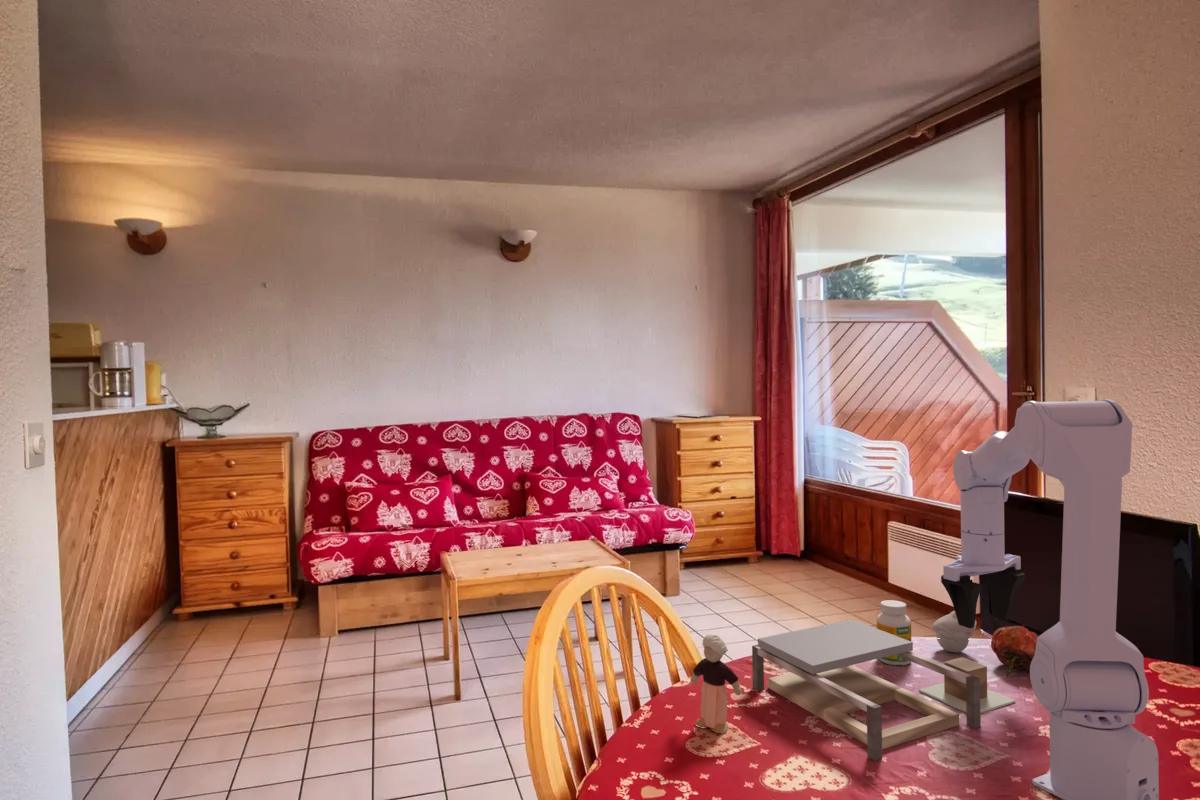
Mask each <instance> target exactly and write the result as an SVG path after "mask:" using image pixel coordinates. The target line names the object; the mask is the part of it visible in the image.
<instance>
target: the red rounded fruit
mask: <svg viewBox="0 0 1200 800" xmlns="http://www.w3.org/2000/svg"><path fill="white" fill-rule="evenodd" d="M1026 627H1027V626H1026V624H1022V625H1013V626H1010V625H1007V626H1003V627H999V628H997V629H996V630H995V631H994V632H993V634H992V637H991V643H990V648H991V649H992V652H993V653H994V654H995V655H996V657H997V660H998V661H999V662H1000V663H1001V664H1003V665H1004V666H1006V667H1009V668H1008V670H1007V673H1006V676H1007V677H1009V675H1010V674H1011V671H1012V670H1013V669H1014V668H1013V667H1016V669H1020V670H1024V671H1028V672H1030V665H1031V662H1032V660H1033V658H1034V655H1035V650H1036V644H1037V638H1038V637H1039V635H1037V634H1036V633H1035V632H1033V631H1029V629H1028V628H1026Z"/></svg>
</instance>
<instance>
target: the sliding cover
mask: <svg viewBox="0 0 1200 800" xmlns="http://www.w3.org/2000/svg"><path fill="white" fill-rule="evenodd" d="M913 643H914V642H913V641H912V640H911V641H908V640H905V639H903V638H900V637H898V636H895V635H892V634H890V633H887V632H884V631H882V630H879V629H877V627H873V626H872V625H869V624H866V623H863V622H861V621H858V620H855V619H851V618H850V619H847V620H843V621H837V622H832V623H828V624H823V625H819V626H813V627H808V628H802V629H798V630H793V631H788V632H782V633H778V634H774V635H773V634H772V635H769V636H764V637H759V638H757V645H758V647H760V648H762V649H764V650H766V651H768V652H770V653H772V654H774V655H776V656H778V657H780V658H782V659H784V660H786V661H788V662H790V663H792V664H793V665H795V666H797V667H799V668H801V669H803V670H805V671H807V672H809V673H811V674H817V673H821V672H825V671H829V670H834V669H838V668H842V667H846V666H850V665H853V666H855V665H858V664H862V663H865V662H870V661H875V660H877V659H878V660H879V658H883V657H887V656H891V655H895V654H899V653H904V652H908V651H912V652H913V651H914V650H913V649H914V647H913V645H914V644H913Z"/></svg>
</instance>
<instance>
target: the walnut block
mask: <svg viewBox="0 0 1200 800" xmlns="http://www.w3.org/2000/svg"><path fill="white" fill-rule="evenodd" d="M943 664H944V665H946V666H949V667H951V668H954V669H956V670H959V671H961V672H964V673H966V674H969V675H972V676H975V677H977V678H980V699H982V698H986V697H987V689H988V666H987V665H984V664H982V663H979V662H976V661H974V660H971V659H969V658H965V657H963V656H962V657H959V658H954V659H950V660H947V661H944V662H943ZM943 679H944V680H943V683H944V692H946V693H948V694H950V695H952V696H955V697H957V698H959V699H961V700H964V701H966V684H965V683H962V682H960V681H957V680H955V679H953V678H950V677H948V676H945V675H944V676H943Z"/></svg>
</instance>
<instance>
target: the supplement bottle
mask: <svg viewBox="0 0 1200 800" xmlns="http://www.w3.org/2000/svg"><path fill="white" fill-rule="evenodd" d="M907 609H908V608H907V603H905V602H904V601H900V600H894V599H890V600H889V599H887V600H882V601H881V602H880V612H881V613H878V615H877V616H876V629H879V630H882V631H884V632H887V633H890V634H892V635H895V636H898V637H900V638H903V639H905V640H908V641H911V642H912V621H911V619H910V617H909V616H908V615H907V614H906V613H907V612H908V611H907ZM911 652H913V650H912V651H911ZM878 660H879V661H880V662H882V663H883V662H884V664H886V665H891V666H896V665H902V666H907V664H908V665H909V664H911V663H912V662H911V661H909V660H906V659H904V658H901V657H899V656H896V655H891V656H887V657H883V658H879V659H878Z"/></svg>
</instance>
